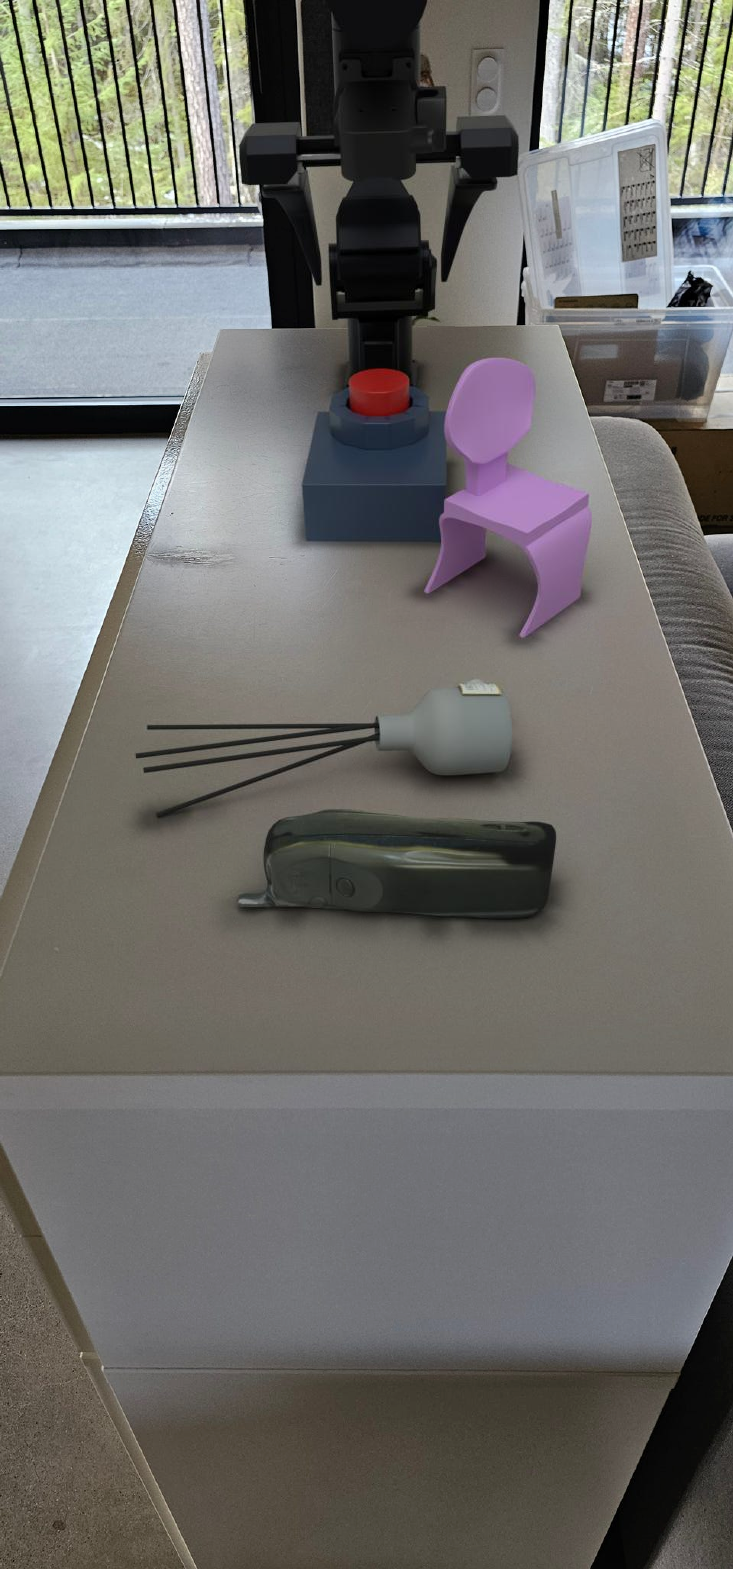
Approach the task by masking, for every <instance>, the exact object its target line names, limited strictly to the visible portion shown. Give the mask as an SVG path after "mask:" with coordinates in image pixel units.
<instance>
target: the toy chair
mask: <svg viewBox="0 0 733 1569" xmlns="http://www.w3.org/2000/svg"><path fill="white" fill-rule="evenodd" d="M535 396H536V378H535V375H534V373H533V371H532V370H531V368H530V367H529V366H527V364H525V363H522V362H521V361H518V360H515V359H512V358H505V357H488V358H482V359H479V360H477V361H474V362H473V363H470V364H469V365H468V366H467V367H466V368H465V369H464V370H463V372H462V373H461V375H460V377H459V379H458V380H457V383H456V384H455V388H454V390H453V391H452V394H451V397H450V400H449V401H448V402H449V403H448V405H447V409H446V411H447V412H446V417H445V423H444V433H445V439H446V441H447V445H448V447H449V448H450V450H452V451H453V452H454V453H455V454H457V455H459V456H460V457H462V458H463V459H464V472H465V473H464V474H465V485H466V486H465V488H463V489H461V490H458V491H457V492H455V493H454V494H452V495H450V496H448V497H446V499H445V500H444V513H443V514H441V516H440V518H439V526H440V532H441V542H440V550H439V554H438V557H437V561H436V563H435V566H434V569H433V571H432V573H431V575H430V577H429V579H428V581H427V584H426V586H425V587H424V591H423V593H424V594H427V595H429V594H430V593H432V592H433V591H435V590H436V589H439V588H440V587H442V586H443V585H445V584H446V583H448V582H450V581H451V580H452V579H454V578H456V577H457V576H458V575H460V574H462V573H463V572H465V571H466V570H468V569H469V568H471V567H473V566H474V565H475V564H478V563H479V562H480V561H482V560H483V559H485V558H486V557H487V549H486V536H487V535H486V534H487V531H491V532H492V533H495V534H497V535H499V536H500V537H502V538H504V539H506V540H507V541H510V542H512V543H514V544H516V545H518V546H519V547H520V548H521V549H522V550H523V551H524V552H525V554H526V556H527V558H528V560H529V562H530V564H531V566H532V569H533V571H534V574H535V576H536V582H537V594H536V598H535V602H534V603H533V606H532V609H531V610H530V614H529V616H528V617H527V620H526V621H525V623H524V626H523V627H522V629H521V631H520V633H519V634H518V636H519V638H522V639H524V638H526V637H527V636H529V635H530V634H532V632H534V631H535V630H537V629H538V628H540V627H541V626H542V625H544V624H545V623H547V622H548V621H549V620H551V619H552V618H554V617H555V616H556V615H557V614H559V613H560V612H562V611H563V610H565V609H566V608H567V607H568V606H571V604H572V603H574V602H575V601H577V600H578V599H580V598H581V596H582V595H581V593H582V592H581V591H582V581H583V572H584V566H585V561H586V556H587V551H588V547H589V541H590V536H591V532H592V531H591V530H592V526H593V525H592V524H593V516H592V512H591V510H590V508H589V499H590V493H589V492H588V491H587V492H586V491H584V490H581V489H578V488H575V487H573V486H569V485H566V484H563V483H558V482H555V481H552V480H550V479H547V478H544V477H541V476H539V475H537V474H534V473H533V472H530V471H528V470H526V469H524V468H521V467H519V466H515V465H513V464H510V463H507V462H508V461H507V459H508V456H509V455H508V454H509V451H511V450H512V449H513V448H515V447H516V446H517V445H518V444H519V442H520V441H522V439H523V438H525V436H526V435H527V434H528V433H529V431H530V430H531V426H532V418H533V411H534V407H535Z"/></svg>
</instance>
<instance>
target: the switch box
mask: <svg viewBox="0 0 733 1569" xmlns="http://www.w3.org/2000/svg"><path fill="white" fill-rule="evenodd" d="M328 409H329V410H328V411H317V413H316V418H315V423H314V428H313V430H312V431H313V432H312V437H311V441H310V446H309V450H308V451H309V452H308V455H307V460H306V464H305V469H304V473H303V478H302V481H301V482H302V483H301V491H302V492H301V493H302V504H303V519H304V520H303V521H304V532H305V542H342V543H343V542H344V543H345V542H350V543H351V542H353V543H355V542H358V543H359V542H360V543H361V542H365V543H366V542H368V543H369V542H370V543H371V542H372V543H376V542H378V543H379V542H382V543H383V542H384V543H385V542H386V543H388V542H389V543H393V542H395V543H397V542H398V543H399V542H400V543H410V542H411V543H413V542H414V543H441V532H440V526H439V518H440V516H441V514H443V513H444V500H445V499H447V448H448V446H447V445H448V444H447V441H446V439H445V433H444V423H445V417H446V412H447V410H430V396H429V395H428V394H426V393H425V392H423V391H422V390H421V389H419V388H418V387H417V386H416V387H412V386H409V409H408V410H406V411H405V412H403V413H399V414H395V415H391V416H387V417H368V416H364V415H360V414H356V413H353V412H352V411H351V409H350V396H349V387H348V388H345V389H344V390H343V389H342V390H340V391H339V392H337V393H335V394H334V395H333V396H331V398H330V403H329V408H328Z"/></svg>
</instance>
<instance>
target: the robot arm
mask: <svg viewBox="0 0 733 1569" xmlns="http://www.w3.org/2000/svg"><path fill="white" fill-rule="evenodd" d="M327 1H328V6H329V10H330V12H331V13H330V14H331V33H332V34H331V35H332V36H331V37H332V59H333V82H334V86H333V87H334V98H333V102H332V103H333V104H332V118H333V119H332V120H333V134H331V135H305V136H304V135H303V136H302V130H301V122H300V121H289V122H261V123H260V122H259V123H251V124H250V126H249V127H248V128H247V129H246V131H245V132H244V134H243V136H242V139H241V141H240V143H239V144H238V145H239V146H238V158H239V169H240V179H241V184H242V185H245V186H262V187H261V194H262V196H263V198H267V199H276V200H277V201H278V202H279V204H280V205H281V207H282V208H283V210H284V211H285V213H286V214H287V217H288V219H289V221H290V223H291V224H292V226H293V229H294V230H295V233H296V235H297V237H298V240H299V243H300V246H301V249H302V251H303V254H304V256H305V259H306V262H307V265H308V267H309V270H310V273H311V276H312V278H313V280H314V281H313V282H314V283H315V285H316V286H317V287H321V286H322V284H323V272H322V268H323V266H322V256H321V249H320V242H319V236H318V230H317V229H318V228H317V223H316V215H315V210H314V203H313V196H312V190H311V182H310V177H309V171H308V169H305V168H326V167H340V170H341V171H340V172H341V177H343V178H344V179H345V180H347V181H349V182H352V184H351V185H350V187H349V189H348V191H347V193H346V195H345V196H343V197H342V199H341V201H340V203H339V205H338V208H337V212H336V215H335V238H336V239H335V240H336V243H335V242H329V243H328V272H329V273H328V275H329V276H328V277H329V288H330V289H329V292H330V307H331V309H330V310H331V321H338V320H343V319H344V320H346V319H347V337H348V360H347V363H346V368H345V374H344V379H343V385H342V390H344V389H345V388H348V387H349V380H350V378H351V377H352V376H353V375H354V374H356V373H359V372H361V371H365V370H370V369H392V370H397V371H400V372H402V373H404V374H406V375H407V376H408V378H409V386H412V387H416V388H417V380H418V367H419V366H418V364H419V363H418V360H417V359H414V358H413V317H422V318H429V313H430V312H431V311H434V310H436V288H437V287H436V286H437V273H438V272H437V271H438V258H437V257H436V256H435V255H434V254H433V253H432V248H430V240H429V239H422V220H421V212H420V210H419V205H418V203H417V201H416V199H415V197H414V195H413V194H410V193H409V191H408V189H407V188H406V186H405V185H404V183H403V182H402V181H404V180H405V181H406V180H409V179H411V178H412V177H414V176H415V174H416V173H417V165H418V164H419V165H421V164H422V165H423V164H447V163H449V164H452V163H453V164H452V165H450V171H449V180H448V189H447V190H448V191H447V197H446V198H447V199H446V207H445V215H444V224H443V233H442V243H441V250H440V281H441V282H440V283H447V282H448V279H449V276H450V273H451V270H452V267H453V264H454V260H455V256H456V254H457V251H458V248H459V245H460V242H461V239H462V236H463V232H464V230H465V228H466V224H467V222H468V220H469V218H470V216H471V213H472V211H473V210H474V207H475V205H476V203H477V202H478V200H479V199H480V197H481V196H482V194H483V193H484V192H491V191H496V189H498V183H499V182H498V178H511V177H515V176H518V174H519V173H518V171H519V155H520V154H519V152H520V151H519V150H520V143H519V142H520V140H519V139H520V138H519V137H520V136H519V134H518V132H517V130H516V128H515V126H514V124H513V123H512V121H511V120H510V119H509V118H508V117H507V115H506V114H497V115H471V116H469V115H468V116H456V122H455V130H453V131H452V130H451V131H447V112H448V111H447V110H448V109H447V102H448V100H447V99H448V98H447V96H448V95H447V87H446V86H445V85H434V86H421V20H422V18H423V16H424V13H425V10H426V7H427V4H428V0H327ZM418 290H419V291H418ZM339 293H342V294H339Z"/></svg>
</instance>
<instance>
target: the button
mask: <svg viewBox="0 0 733 1569" xmlns="http://www.w3.org/2000/svg"><path fill="white" fill-rule="evenodd" d="M349 396H350V409H351V411H352V412H353V413H356V414H360V415H364V416H368V417H387V416H391V415H395V414H399V413H403V412H405V411H406V410H408V409H409V378H408V376H407V375H406V374H404V373H402V372H400V371H397V370H392V369H370V370H365V371H361V372H359V373H356V374H354V375H353V376H352V377H351V378H350V380H349Z"/></svg>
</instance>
